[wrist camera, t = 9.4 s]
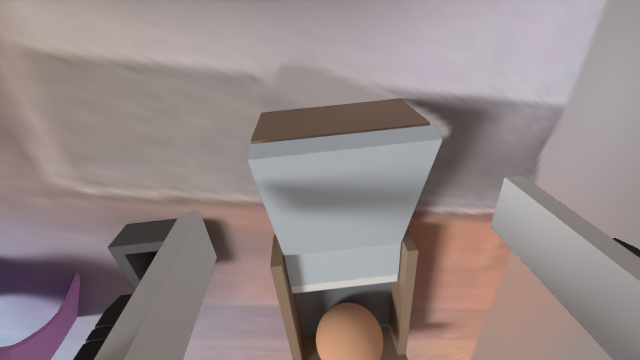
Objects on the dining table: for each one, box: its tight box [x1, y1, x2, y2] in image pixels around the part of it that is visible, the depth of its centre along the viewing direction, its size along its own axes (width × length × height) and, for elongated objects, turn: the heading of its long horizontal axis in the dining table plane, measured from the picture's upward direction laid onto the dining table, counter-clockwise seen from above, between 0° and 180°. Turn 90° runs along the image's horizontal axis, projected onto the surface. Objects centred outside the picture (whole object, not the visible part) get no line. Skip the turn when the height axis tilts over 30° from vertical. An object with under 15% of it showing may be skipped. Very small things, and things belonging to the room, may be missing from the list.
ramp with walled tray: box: [247, 99, 443, 360], centre depth 22 cm, size 25×11×6 cm, turn 5°
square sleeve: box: [108, 219, 177, 290], centre depth 22 cm, size 5×5×2 cm
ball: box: [316, 303, 383, 360], centre depth 25 cm, size 6×6×6 cm
